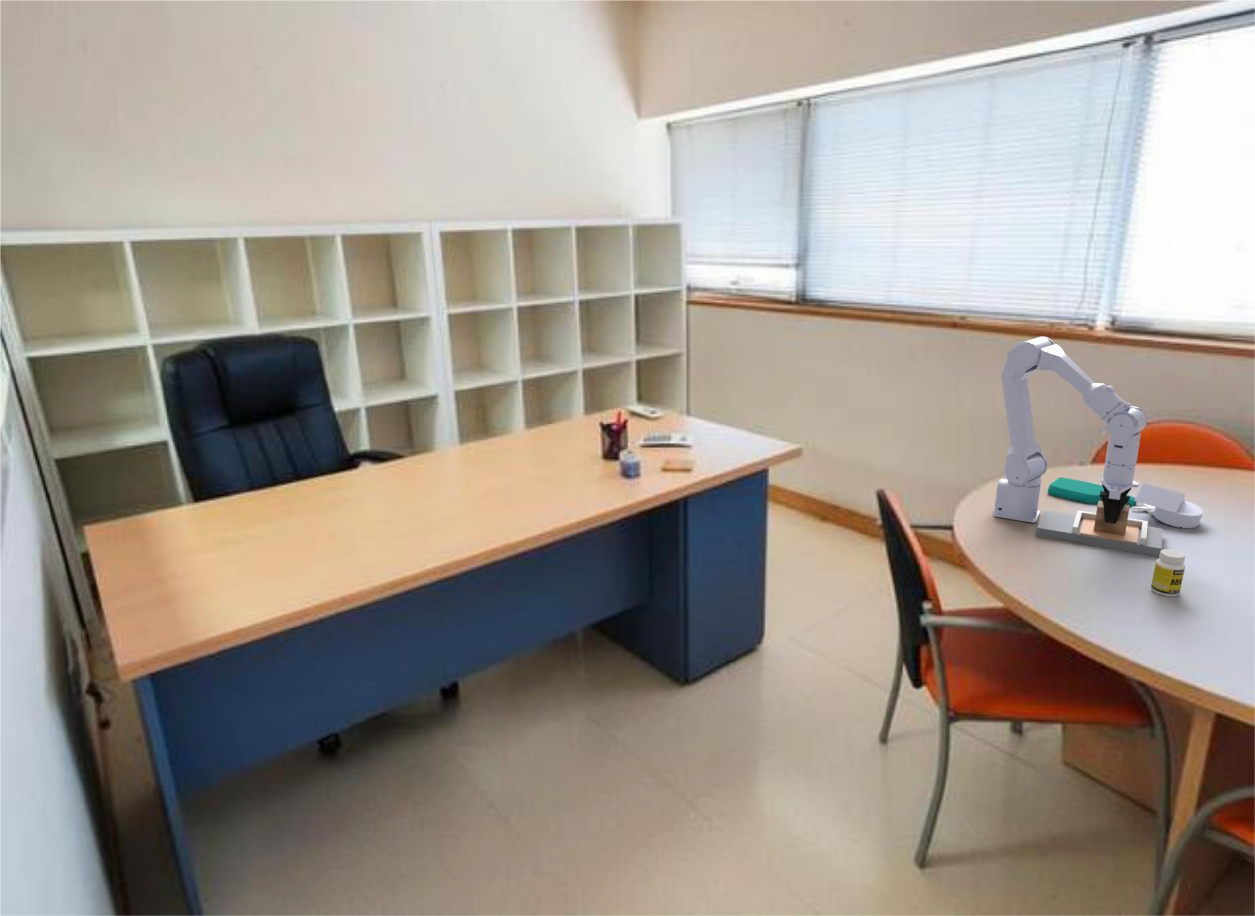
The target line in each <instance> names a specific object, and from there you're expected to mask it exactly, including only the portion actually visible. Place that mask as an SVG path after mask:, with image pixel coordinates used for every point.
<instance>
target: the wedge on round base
mask: <svg viewBox="0 0 1255 916" xmlns="http://www.w3.org/2000/svg"><path fill="white" fill-rule="evenodd" d="M1134 501H1137V502H1140V503H1143V504H1147V505H1150V506H1154V507H1156V508H1155V511H1154V515H1153V517H1154V518H1155V519H1157V520H1158V521H1160V522H1161V523H1163V524H1166V525H1167V526H1168V525H1169V526H1172V527H1176V528H1180V527H1182V528H1181V529H1191V528H1190V527H1195V528H1197V527H1199V525H1200V523H1201V519H1202V518H1203V514H1204V509H1202V507H1200V506H1199V505H1197V504H1195V503H1193V502H1191V501H1187V500H1186V499H1185V493H1182V492H1178V491H1176V490H1173V489H1172V490H1171V489H1168V488H1164V487H1161V486H1157V485H1154V484H1150V483H1146V482H1142V484H1141V486H1140V488H1139V490H1138V493H1137V494H1136V496H1135V500H1134ZM1196 526H1197V527H1196Z"/></svg>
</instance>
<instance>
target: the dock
mask: <svg viewBox="0 0 1255 916" xmlns="http://www.w3.org/2000/svg"><path fill="white" fill-rule="evenodd" d="M1095 518H1096V512H1090V511H1084V510H1077V511H1076V514H1071V513H1065V512H1057V511H1051V510H1045V509H1044V510H1043V513H1042V515H1041V517H1040V519H1039V522H1038V525H1037V527H1036V533H1035V534H1036V536H1039V537H1043V536H1044V537H1043V538H1048V537H1049V539H1054V538H1056V540H1061V541H1065V540H1067V541H1066V542H1073V543H1079V544H1084V545H1090V546H1094V547H1095V546H1096V547H1100V548H1107V549H1113V550H1117V551H1123V552H1129V553H1134V554H1135V553H1136V554H1140V555H1145V556H1151V555H1153V556H1152V557H1159V555H1160V551H1161V550H1163V549H1162V548H1163V530H1164V529H1163V528H1161V527H1159V528H1158V527H1154V526H1153V527H1152V526H1148V525H1149V524H1148V522H1149V521H1148V520H1145V519H1144V520H1143V519H1135V518H1129V517H1128V520H1127V526H1126V531H1125V536H1121V535H1115V534H1109V533H1103V532H1097V531H1094V525H1095Z"/></svg>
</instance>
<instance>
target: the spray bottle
mask: <svg viewBox="0 0 1255 916" xmlns="http://www.w3.org/2000/svg"><path fill="white" fill-rule="evenodd" d="M1100 491H1104V489H1103V487H1102V484H1097V483H1094V482H1088V481H1084V480H1079V479H1073V478H1068V477H1062V476H1060V477H1058V478H1057V479H1055V480H1054V481H1053V482H1052V483H1050V484H1049V486H1048V489H1047V494H1048V495H1051V496H1053V497H1057V498H1061V499H1065V500H1068V501H1069V500H1070V501H1073V502H1078V503H1079V502H1080V503H1084V504H1091V505H1092V504H1093V505H1094V504H1097V505H1098V502H1099V501H1102V500H1101V497H1100ZM1126 496H1130V499H1129V501H1128V502H1127V503H1126V504H1125V505H1130V507H1131V510H1132V509H1133V510H1138V511H1139V510H1141V511H1145V512H1147V513H1148V514H1150V516H1154V511H1155V508H1156V507H1154V506H1150V505H1147V504H1143V503H1140V502H1137V501H1134V500H1135V498H1136V496H1131V495H1129V494H1127V495H1126ZM1135 506H1136V507H1135Z"/></svg>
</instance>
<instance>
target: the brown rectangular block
mask: <svg viewBox="0 0 1255 916" xmlns="http://www.w3.org/2000/svg"><path fill="white" fill-rule="evenodd" d="M1130 507H1131V506H1130V505H1125V506H1124V507H1123V509H1122V511H1121V513H1120V516H1119V518H1118V520H1117V522H1116V524H1113V523H1107V522H1105V519H1104V506H1103V502H1102V501H1099V502H1098V503H1097V507H1096V512H1095V513H1096V518H1095V525H1094V531H1097V532H1103V533H1109V534H1115V535H1121V536H1125V531H1126V526H1127V520H1128V518H1129V512H1130Z"/></svg>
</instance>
